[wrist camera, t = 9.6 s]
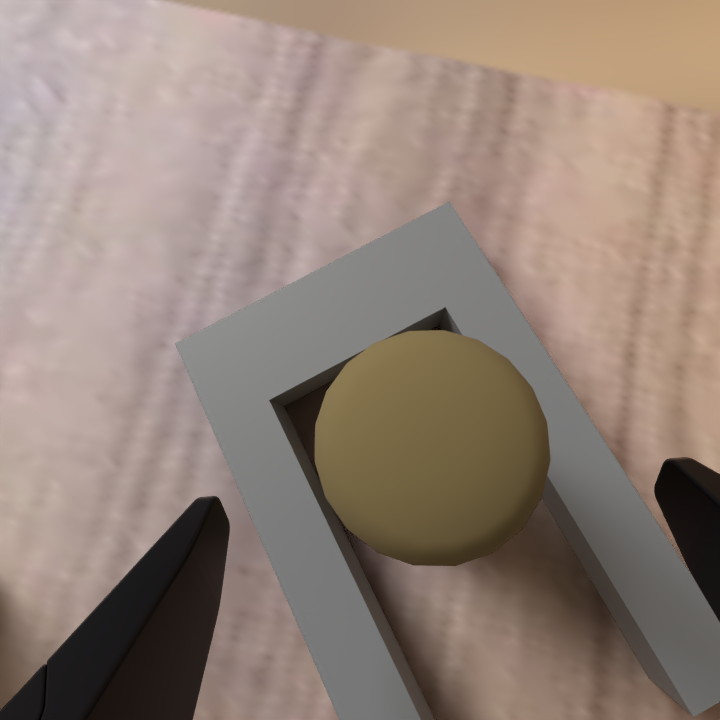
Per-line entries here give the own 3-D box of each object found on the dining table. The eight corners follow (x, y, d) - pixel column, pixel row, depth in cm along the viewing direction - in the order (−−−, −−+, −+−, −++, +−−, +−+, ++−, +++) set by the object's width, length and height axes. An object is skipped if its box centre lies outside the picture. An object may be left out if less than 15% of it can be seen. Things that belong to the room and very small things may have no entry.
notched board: (705, 646, 17) (759, 679, 14) (406, 816, 16) (409, 880, 14) (442, 230, 21) (449, 201, 19) (200, 356, 21) (175, 343, 18)
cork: (494, 506, 18) (641, 585, 8) (352, 530, 19) (301, 639, 8) (463, 367, 20) (553, 266, 9) (331, 390, 20) (262, 319, 9)
